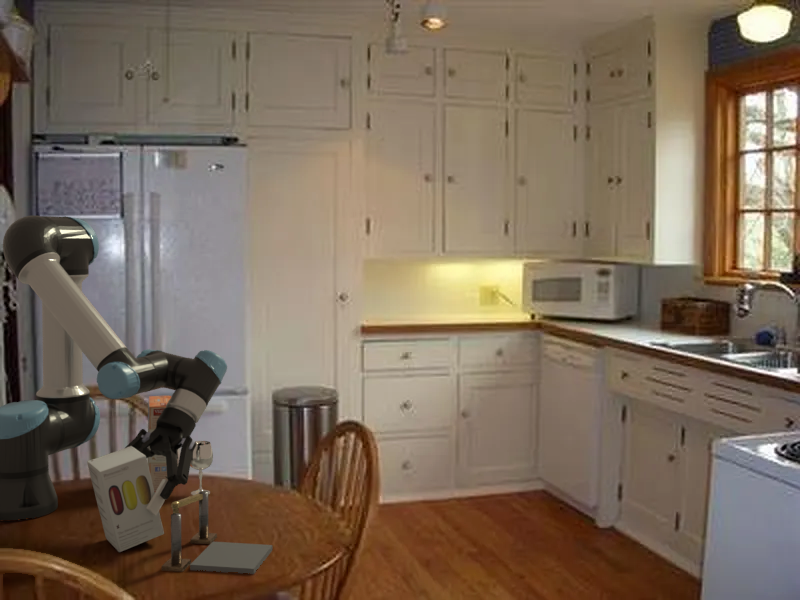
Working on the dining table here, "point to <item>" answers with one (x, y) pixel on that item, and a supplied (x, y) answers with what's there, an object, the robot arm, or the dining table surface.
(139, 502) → the supplement box
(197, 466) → the wineglass
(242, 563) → the mat
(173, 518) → the small hurdle
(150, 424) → the cracker box
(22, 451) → the robot arm
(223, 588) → the dining table surface
